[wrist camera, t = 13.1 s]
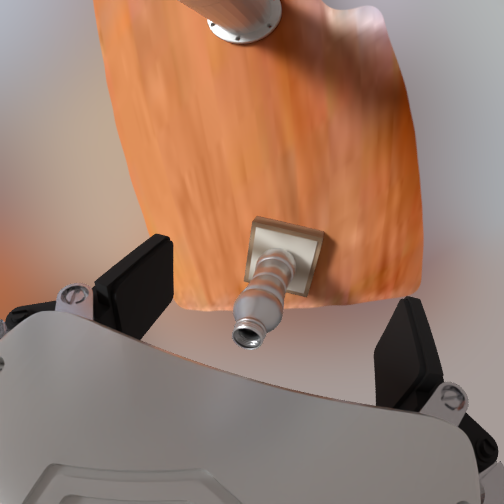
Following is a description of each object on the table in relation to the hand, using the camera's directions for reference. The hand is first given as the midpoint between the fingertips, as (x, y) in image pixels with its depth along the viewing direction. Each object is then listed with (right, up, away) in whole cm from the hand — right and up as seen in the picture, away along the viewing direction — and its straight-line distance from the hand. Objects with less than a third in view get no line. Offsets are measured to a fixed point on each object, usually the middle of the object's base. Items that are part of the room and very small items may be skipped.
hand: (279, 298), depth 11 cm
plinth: (+5, +1, +42) cm, 42 cm away
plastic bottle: (+4, 0, +39) cm, 39 cm away
